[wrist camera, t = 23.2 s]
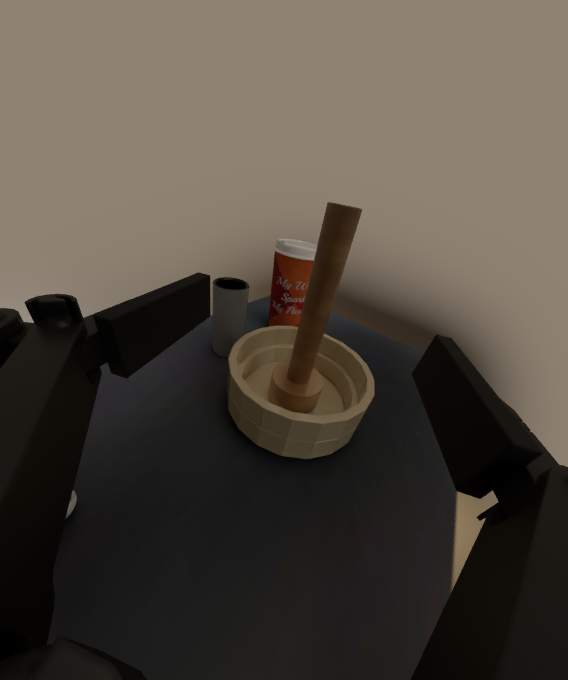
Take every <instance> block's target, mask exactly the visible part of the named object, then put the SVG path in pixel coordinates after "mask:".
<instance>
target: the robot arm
mask: <svg viewBox="0 0 568 680" xmlns="http://www.w3.org/2000/svg"><path fill="white" fill-rule="evenodd" d="M25 304H26V307H27V309H28V311H29V313H30V315H31V317H32V319H33V321H34V323H28V322H23V320H22V318H21V316H20V314H19V312H18V311H16V310H14V309H7V308H0V680H147V679H146V678H145V677H144V675H143V674H142V672H141V671H139V670H137V669H135V668H133V667H131V666H129V665H127V664H125V663H123V662H122V661H120V660H118V659H116V658H114V657H112V656H110V655H108V654H106V653H104V652H103V651H100V650H98V649H95V648H92V647H89V646H87V645H84V644H81V643H79V642H76V641H73V640H71V639H68V638H65V637H62V636H60V635H58V637H57V638H56V640H55V641H54V643H53V644H52V645H47V646H46V644H47V640H48V635H49V631H50V626H51V622H52V616H53V610H54V597H55V593H54V586H53V568H54V563H55V559H56V555H57V551H58V547H59V543H60V539H61V535H62V531H63V527H64V523H65V519H66V515H67V511H68V507H69V503H70V499H71V495H72V491H73V487H74V483H75V479H76V475H77V471H78V467H79V463H80V459H81V455H82V451H83V447H84V443H85V439H86V435H87V431H88V427H89V423H90V419H91V415H92V411H93V407H94V403H95V399H96V395H97V391H98V387H99V383H100V379H101V375H102V373H101V369H100V366H102V365H103V364H105V363H107V362H108V365H109V368H110V371H111V373H112V374H115V375H118V376H121V377H124V378H128V377H129V376H131V375H132V374H133V373H135V372H136V371H137V370H139V369H140V368H141V367H143V366H144V365H146V364H147V363H148V362H150V361H151V360H152V359H154V358H155V357H156V356H158V355H159V354H160V353H162V352H163V351H164V350H166V349H167V348H168V347H170V346H171V345H172V344H174V343H175V342H176V341H178V340H179V339H180V338H182V337H183V336H184V335H186V334H187V333H188V332H190V331H191V330H192V329H194V328H195V327H196V326H198V325H199V324H200V323H202V322H203V321H205V320H206V319H207V318H209V317H210V275H206V274H202V273H196V274H194V275H191V276H189V277H187V278H184V279H181V280H179V281H176V282H174V283H171V284H169V285H166V286H164V287H161V288H159V289H156V290H154V291H151V292H149V293H146V294H144V295H141V296H139V297H136V298H134V299H130V300H128V301H125V302H123V303H120V304H118V305H115V306H113V307H111V308H108V309H105V310H103V311H100V312H97V313H95V314H93V315H90V316H87V317H85V318H83V316H82V314H81V311H80V308H79V305H78V302H77V299H76V298H75V297H73V296H70V295H65V294H50V295H43V296H37V297H34V298H31V299H29V300H27V301H26V302H25ZM412 376H413V378H414V381H415V383H416V386H417V389H418V391H419V394H420V397H421V399H422V402H423V404H424V407H425V410H426V412H427V415H428V417H429V420H430V423H431V425H432V428H433V431H434V433H435V436H436V438H437V441H438V444H439V446H440V449H441V451H442V454H443V457H444V459H445V462H446V465H447V467H448V470H449V472H450V475H451V478H452V480H453V483H454V485H455V488H456V491H458V492H461V493H464V494H467V495H470V496H473V497H476V498H479V499H481V498H482V497H484V496H485V495H487V494H488V493H489V492H491V491H492V490H493V491H494V493H495V495H496V497H497V499H498V501H499V502H498V503H497V504H495V505H494V506H492V507H491V508H489V509H488V510H486V511H485V512H483V513H481V514H480V515H479V516H478V517H477V518H478V519H479V520H482V519H484V518H486V520H485V522H484V524H483V526H482V528H481V530H480V532H479V535H478V537H477V539H476V541H475V543H474V545H473V547H472V550H471V552H470V554H469V556H468V558H467V560H466V562H465V565H464V567H463V569H462V571H461V573H460V575H459V578H458V580H457V582H456V584H455V586H454V588H453V590H452V592H451V595H450V597H449V599H448V601H447V603H446V605H445V607H444V610H443V612H442V614H441V616H440V618H439V620H438V622H437V624H436V627H435V629H434V631H433V633H432V635H431V637H430V639H429V642H428V644H427V646H426V648H425V650H424V652H423V654H422V657H421V659H420V661H419V663H418V665H417V667H416V669H415V672H414V674H413V676H412V678H411V680H568V467H566V466H563V465H559V464H558V463H557V462H556V460H555V459H554V458H553V457H552V456H551V454H550V453H549V452H548V451H547V450H546V448H545V447H544V446H543V445H542V443H541V442H540V441H539V440H538V439H537V437H536V436H535V435H534V434H533V433H532V432H530V429H529V428H528V427H527V425H526V424H525V423H523V422H522V419H521V418H520V417H519V416H518V414H517V413H516V412H515V411H514V410H513V409H512V408H511V407H510V406H508V405H507V404H506V403H505V402H503V401H502V400H501V399H500V398H499V397H498V396H497V394H496V393H495V392H494V391H493V389H492V388H491V387H490V386H489V384H488V383H487V382H486V381H485V379H484V378H483V377H482V376H481V374H480V373H479V372H478V371H477V370H476V368H475V367H474V366H473V365H472V363H471V362H470V361H469V360H468V358H467V357H466V356H465V355H464V353H463V352H462V351H461V350H460V348H459V347H458V346H457V345H456V343H455V342H454V341H453V340H452V338H448V337H444V336H440V335H436V336H435V337H434V339H433V341H432V342H431V344H430V345H429V347H428V349H427V350H426V352H425V353H424V355H423V357H422V358H421V360H420V361H419V363H418V364H417V366H416V368H415V369H414V371H413V372H412Z"/></svg>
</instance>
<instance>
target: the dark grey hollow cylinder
mask: <svg viewBox="0 0 568 680" xmlns="http://www.w3.org/2000/svg"><path fill="white" fill-rule="evenodd" d="M248 293H249V284H248V283H247V282H245V281H243V280H240V279H236V278H229V277H228V278H227V277H224V278H218V279H215V280H214V281H213V351H214V352H215V353H216V354H218V355H220V356H223V357H229V355H230V353H231V350H232V348H233V345H234V344H235V343H236V342H237V341H238V340H239V339H240V338H241V337H242V336H244V335H245V326H246V315H247V304H248Z"/></svg>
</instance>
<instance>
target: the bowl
mask: <svg viewBox="0 0 568 680" xmlns="http://www.w3.org/2000/svg"><path fill="white" fill-rule="evenodd" d="M297 330H298V327H295V326H270V327H265V328H259V329H257V330H254V331H252V332H250V333H247V334H245V335H244V336H242V337H241V338H240V339H239V340H238V341H237V342H236V343H235V344H234V345H233V348H232V350H231V353H230V355H229V358H228V376H227V401H228V410H229V412H230V414H231V416H232V418H233V420H234V421H235V423H236V425H237V427H238V428H239V430H240V431H241V432H243V433H244V434H245V435H246V436H247V437H248V438H249V439H251V440H252V441H253V442H254V443H255V444H256V445H258V446H260V447H262V448H265V449H267V450H269V451H271V452H273V453H276V454H278V455H280V456H285V457H293V458H301V459H311V458H316V457H320V456H325V455H330V454H332V453H334V452H335V451H337V450H338V449H340V448H341V447H343V446H344V445H345V444H347V443H348V442H349V440H350V439H351V437H352V435H353V434H354V432H355V430H356V428H357V427H358V425H359V423H360V421H361V419H362V417H363V416H364V414H365V412H366V410H367V408H368V406H369V405H370V403H371V401H372V399H373V397H374V378H373V376H372V374H371V372H370V370H369V367H368V366H367V364H366V363H365V362H364V361H363V360H362V359H361V358H360V356H359V355H358V354H357V353H356V352H355V351H353V350H352V349H350V348H349V347H348V346H346V345H345V344H344V343H342V342H340V341H338V340H336V339H334V338H332V337H330V336H328V335H326V334H323V337H322V340H321V344H320V347H319V350H318V353H317V356H316V360H315V363H314V366H313V367H314V368H315V369H316V370H318V372H319V373H320V374H321V376H322V378H323V381H324V385H323V388H322V391H321V394H320V397H319V399H318V402H317V405H316V407H315V408H314V409H313V410H312V411H311V412H309V413H307V414H304V413H297V412H291V411H289V410H286V409H284V408H282V407H279V406H277V405H274V404H273V403H272V402H271V400H270V397H269V387H270V382H271V376H272V372H273V369H274V368H275V366H276V365H278V364H279V363H281V362H284V361H290V360H291V355H292V351H293V347H294V343H295V338H296V334H297Z"/></svg>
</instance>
